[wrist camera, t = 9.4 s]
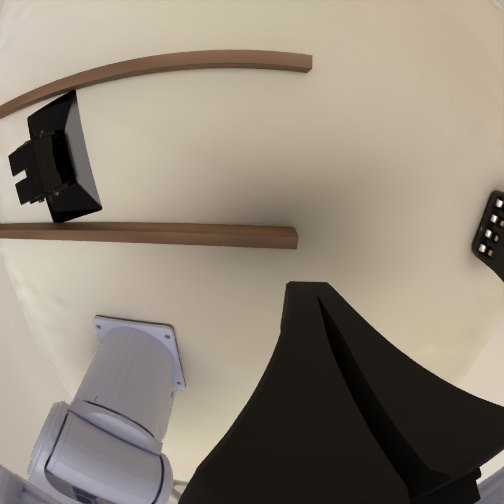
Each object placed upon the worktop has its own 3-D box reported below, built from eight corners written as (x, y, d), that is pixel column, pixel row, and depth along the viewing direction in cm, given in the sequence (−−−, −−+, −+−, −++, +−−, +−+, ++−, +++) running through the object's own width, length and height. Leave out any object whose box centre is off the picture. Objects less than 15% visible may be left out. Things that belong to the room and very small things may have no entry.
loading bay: (293, 239, 18) (305, 280, 14) (-4, 231, 18) (-35, 254, 13) (307, 60, 13) (328, 38, 8) (-18, 120, 12) (-55, 130, 8)
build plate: (25, 106, 13) (-14, 111, 9) (89, 65, 13) (49, 57, 9) (58, 240, 19) (27, 267, 15) (124, 224, 18) (93, 253, 14)
